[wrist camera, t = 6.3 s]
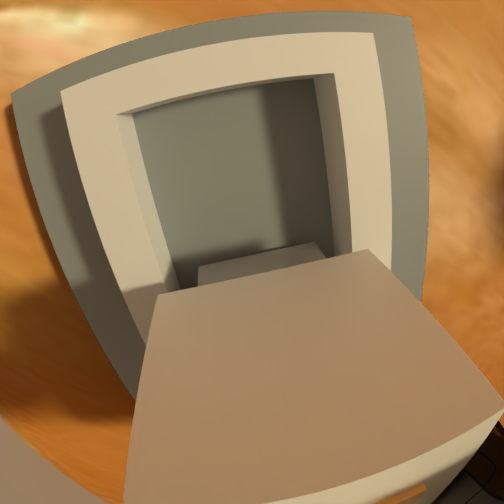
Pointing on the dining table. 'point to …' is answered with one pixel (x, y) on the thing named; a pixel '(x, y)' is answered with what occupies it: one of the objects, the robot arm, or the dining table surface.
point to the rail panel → (227, 157)
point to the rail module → (302, 388)
